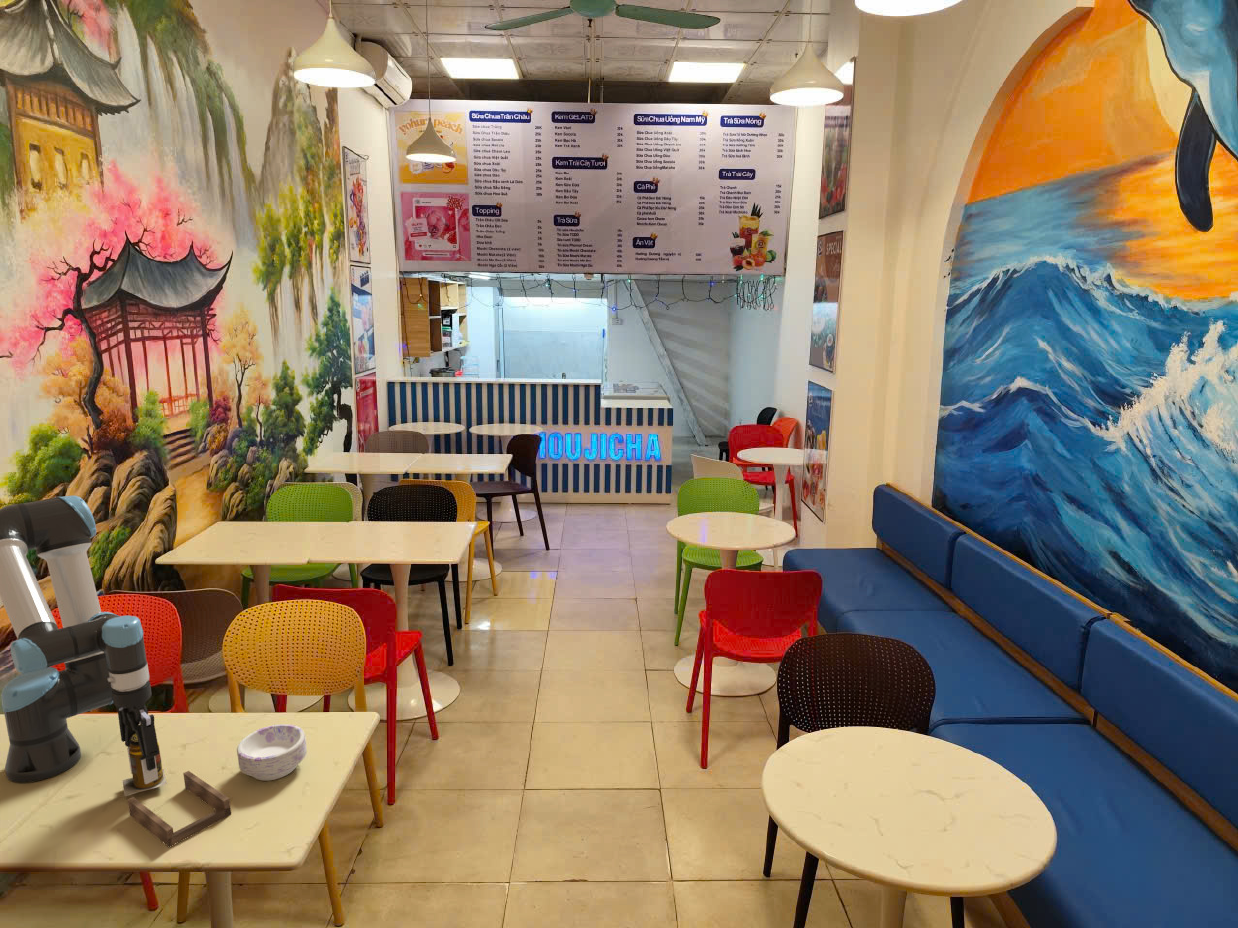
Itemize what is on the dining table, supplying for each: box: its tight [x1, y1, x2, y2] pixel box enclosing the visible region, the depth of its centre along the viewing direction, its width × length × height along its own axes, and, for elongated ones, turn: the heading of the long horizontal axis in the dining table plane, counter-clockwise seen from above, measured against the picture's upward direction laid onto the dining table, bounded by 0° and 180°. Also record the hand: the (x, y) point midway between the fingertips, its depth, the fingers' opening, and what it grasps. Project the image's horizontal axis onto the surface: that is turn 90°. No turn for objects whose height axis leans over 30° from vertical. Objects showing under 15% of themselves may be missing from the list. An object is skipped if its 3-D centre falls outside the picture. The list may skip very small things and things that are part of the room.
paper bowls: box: [236, 723, 308, 782], centre depth 197 cm, size 15×15×8 cm
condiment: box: [122, 734, 168, 797], centre depth 189 cm, size 7×8×12 cm
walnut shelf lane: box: [127, 770, 232, 848], centre depth 181 cm, size 18×13×4 cm
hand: (144, 775), depth 190 cm, fingers closed on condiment, 6 cm apart
